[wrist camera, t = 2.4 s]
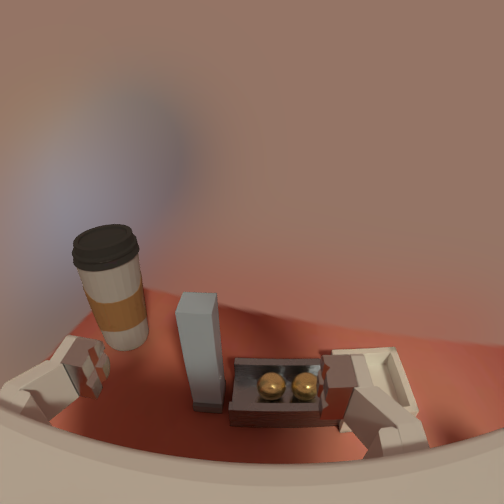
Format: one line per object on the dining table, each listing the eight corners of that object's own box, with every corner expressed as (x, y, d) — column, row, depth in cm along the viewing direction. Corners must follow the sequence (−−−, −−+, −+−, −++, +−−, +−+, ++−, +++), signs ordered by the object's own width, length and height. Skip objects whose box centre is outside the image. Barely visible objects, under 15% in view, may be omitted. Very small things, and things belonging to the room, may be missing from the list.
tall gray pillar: (226, 385, 34) (217, 289, 29) (222, 413, 31) (210, 317, 25) (199, 383, 35) (184, 288, 29) (193, 411, 31) (173, 315, 25)
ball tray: (389, 361, 37) (394, 346, 35) (410, 424, 28) (418, 410, 27) (328, 364, 37) (331, 349, 36) (339, 432, 28) (344, 419, 27)
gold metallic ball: (316, 384, 33) (320, 366, 32) (319, 405, 30) (323, 387, 29) (289, 384, 33) (291, 366, 32) (290, 406, 30) (292, 388, 29)
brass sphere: (284, 384, 33) (286, 366, 32) (285, 406, 31) (287, 388, 29) (257, 384, 33) (257, 366, 32) (256, 405, 31) (255, 388, 29)
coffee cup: (164, 345, 40) (144, 240, 33) (105, 364, 36) (70, 259, 29) (146, 312, 46) (128, 217, 40) (95, 327, 43) (67, 232, 36)
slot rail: (330, 375, 35) (334, 358, 34) (338, 425, 29) (344, 409, 27) (236, 375, 36) (235, 357, 34) (230, 425, 29) (228, 409, 28)
